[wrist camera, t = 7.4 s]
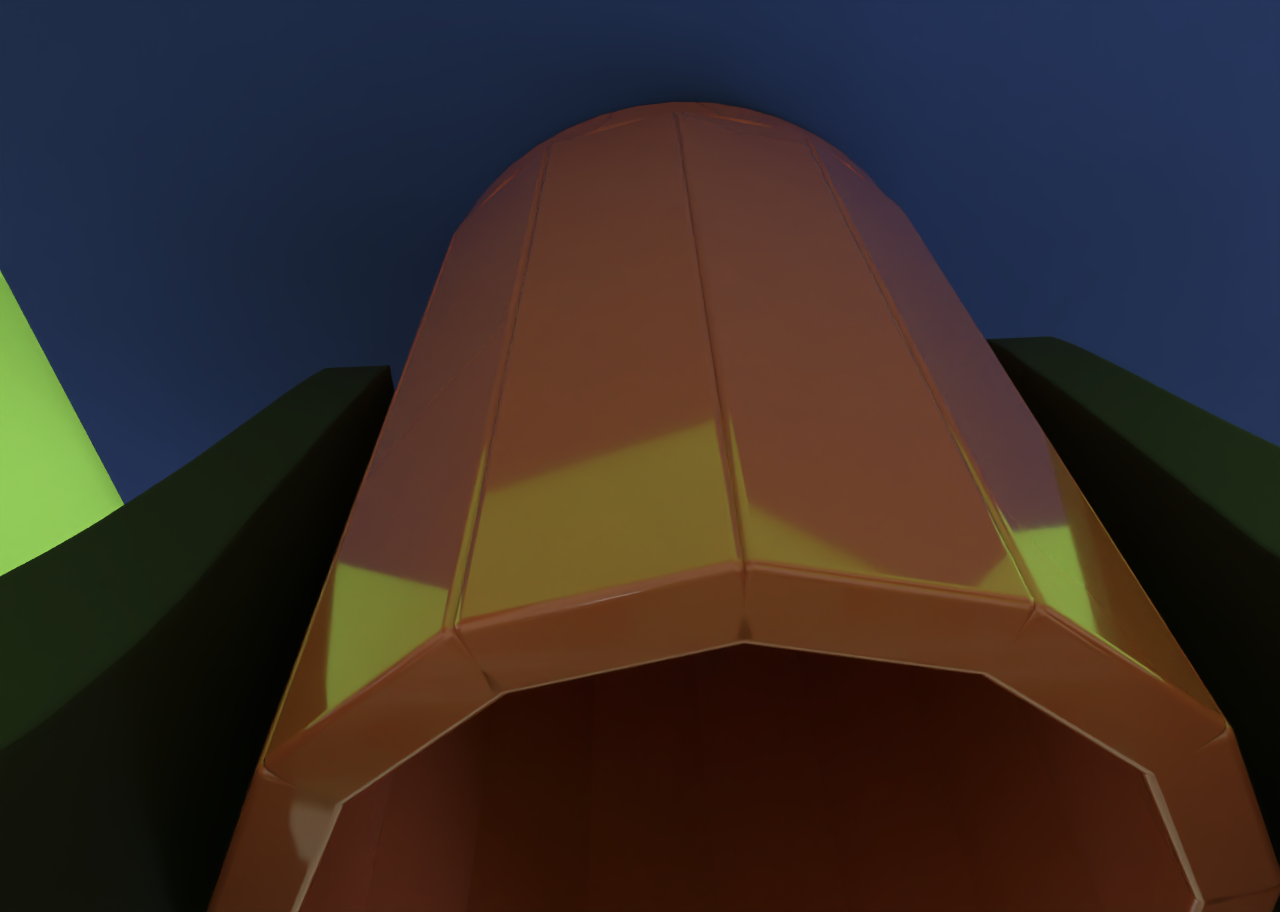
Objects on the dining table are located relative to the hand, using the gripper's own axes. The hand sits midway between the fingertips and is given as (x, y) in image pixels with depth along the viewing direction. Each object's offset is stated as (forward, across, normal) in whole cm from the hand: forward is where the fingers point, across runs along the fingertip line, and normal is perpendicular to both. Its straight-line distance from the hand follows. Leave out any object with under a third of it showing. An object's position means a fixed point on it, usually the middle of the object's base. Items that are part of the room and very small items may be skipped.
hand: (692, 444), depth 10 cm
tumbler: (+2, 0, 0) cm, 2 cm away
